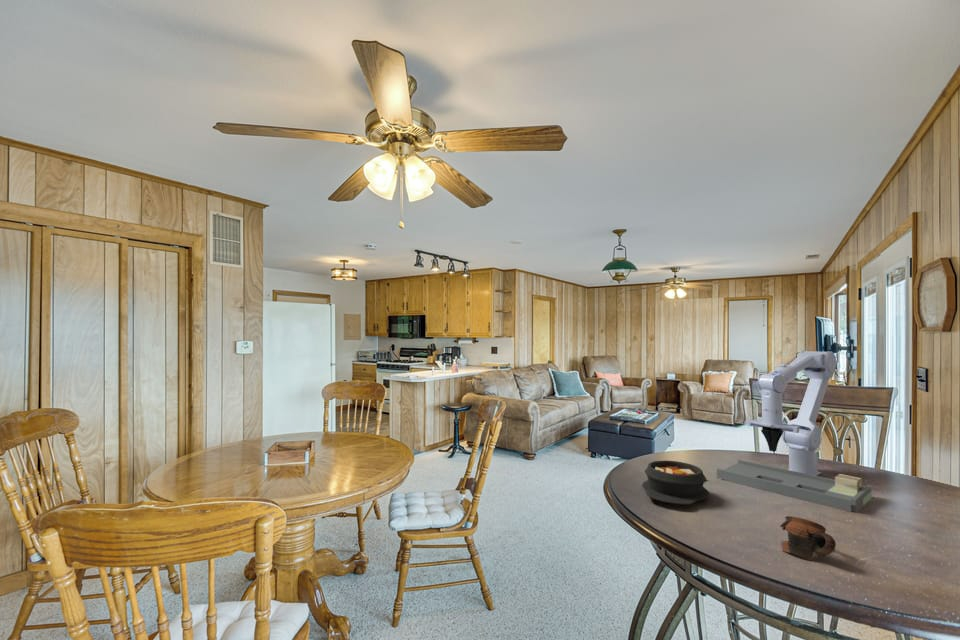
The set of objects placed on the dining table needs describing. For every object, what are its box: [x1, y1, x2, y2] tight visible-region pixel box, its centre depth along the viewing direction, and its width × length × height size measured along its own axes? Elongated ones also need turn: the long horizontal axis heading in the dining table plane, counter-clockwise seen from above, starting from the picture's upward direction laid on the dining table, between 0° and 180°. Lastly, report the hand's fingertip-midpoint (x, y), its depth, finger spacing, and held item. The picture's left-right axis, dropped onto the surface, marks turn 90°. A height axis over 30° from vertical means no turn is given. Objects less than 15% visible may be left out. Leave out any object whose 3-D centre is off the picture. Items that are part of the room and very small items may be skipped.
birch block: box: [834, 473, 863, 495], centre depth 127 cm, size 5×5×4 cm
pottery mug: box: [779, 515, 837, 561], centre depth 95 cm, size 12×10×8 cm
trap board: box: [716, 459, 873, 513], centre depth 136 cm, size 18×36×4 cm, turn 38°
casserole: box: [641, 460, 711, 506], centre depth 130 cm, size 25×19×8 cm
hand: (772, 450), depth 144 cm, fingers closed
